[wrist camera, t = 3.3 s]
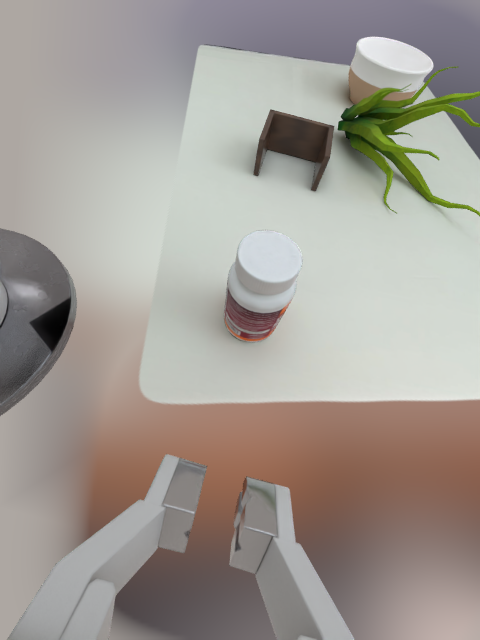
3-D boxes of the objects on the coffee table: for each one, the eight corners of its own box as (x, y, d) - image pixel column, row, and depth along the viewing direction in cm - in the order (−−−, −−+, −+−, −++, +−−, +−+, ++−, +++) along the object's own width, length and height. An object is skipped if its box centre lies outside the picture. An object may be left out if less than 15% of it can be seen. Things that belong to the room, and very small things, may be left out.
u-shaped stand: (253, 174, 40) (259, 138, 35) (263, 145, 44) (270, 109, 39) (315, 191, 40) (330, 157, 35) (320, 160, 44) (334, 126, 39)
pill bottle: (277, 344, 28) (316, 290, 18) (223, 343, 27) (231, 286, 17) (273, 297, 30) (304, 227, 20) (223, 295, 30) (230, 222, 20)
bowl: (398, 129, 52) (428, 81, 45) (329, 102, 54) (347, 51, 47) (411, 100, 59) (438, 54, 52) (349, 77, 61) (367, 29, 54)
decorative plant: (382, 247, 36) (480, 140, 23) (330, 131, 49) (374, 18, 36) (484, 246, 39) (624, 149, 26) (409, 136, 51) (479, 32, 38)
